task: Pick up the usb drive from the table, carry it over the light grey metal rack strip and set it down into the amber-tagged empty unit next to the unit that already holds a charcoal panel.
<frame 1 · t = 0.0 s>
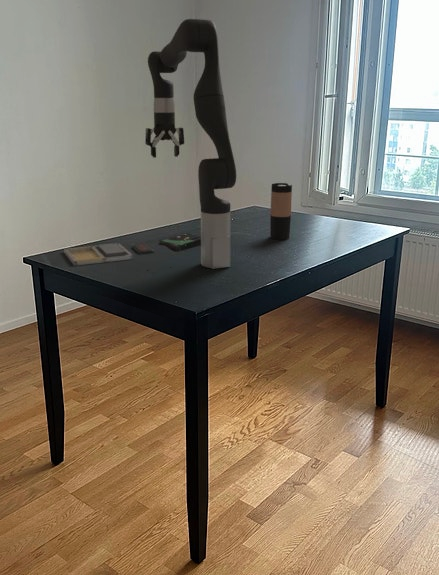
hand: (165, 156, 215), 29 cm above the table, tool pointing down, fingers open, 8 cm apart
usb drive: (142, 253, 200), on the table
rack: (98, 258, 192), on the table
blank panel: (111, 254, 193), point 1 cm above the table, touching rack
disk drive: (183, 246, 210), on the table
travel mug: (279, 238, 220), on the table
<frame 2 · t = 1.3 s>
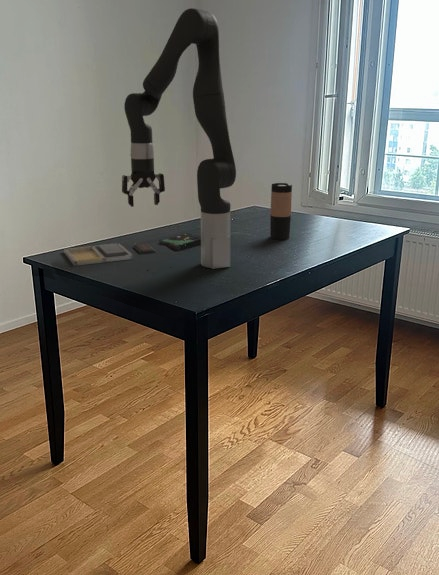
hand: (144, 205, 198), 16 cm above the table, tool pointing down, fingers open, 8 cm apart
nothing on the table moved.
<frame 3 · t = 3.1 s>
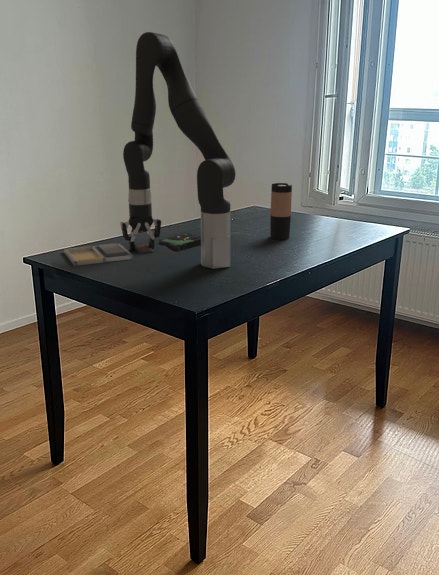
hand: (142, 250, 200), 1 cm above the table, tool pointing down, fingers open, 5 cm apart
usb drive: (142, 253, 200), on the table, touching gripper
everything else where it was.
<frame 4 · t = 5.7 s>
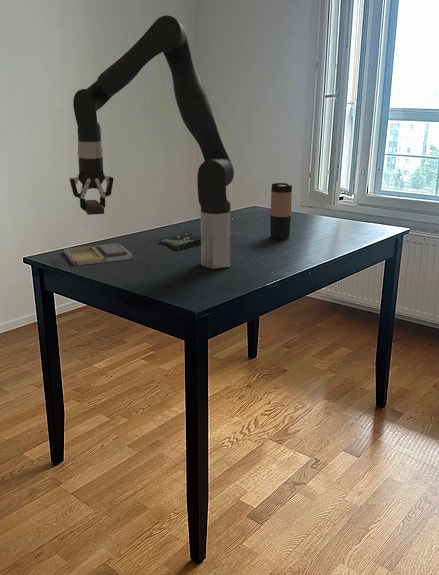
hand: (93, 209, 188), 16 cm above the table, tool pointing down, fingers closed on usb drive, 5 cm apart
usb drive: (93, 211, 188), point 15 cm above the table, touching gripper
everything else where it was.
when the fingers open (3 cm above the table, at t = 7.9 s): usb drive drops 2 cm, resting on rack.
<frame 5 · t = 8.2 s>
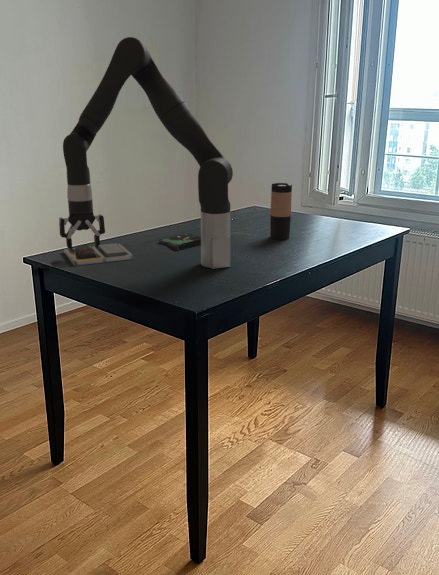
hand: (83, 248, 189), 4 cm above the table, tool pointing down, fingers open, 8 cm apart
usb drive: (85, 257, 190), point 1 cm above the table, touching rack
everything else where it was.
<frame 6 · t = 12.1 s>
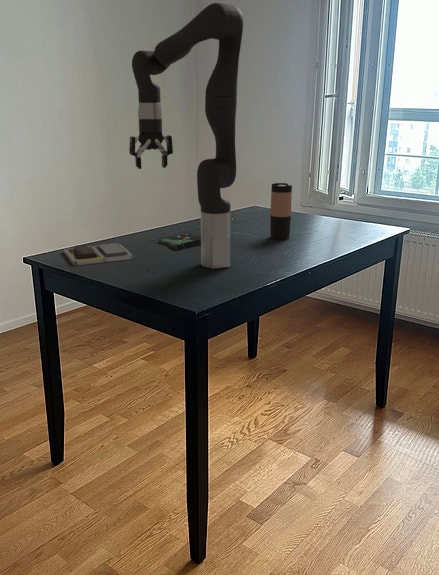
hand: (151, 168, 194), 28 cm above the table, tool pointing down, fingers open, 8 cm apart
nothing on the table moved.
at the end: usb drive inside the target area on the rack (0.9 cm from its centre), point 0.9 cm above the rack's base; the gripper is holding nothing; blank panel moved 0.1 cm from its start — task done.
